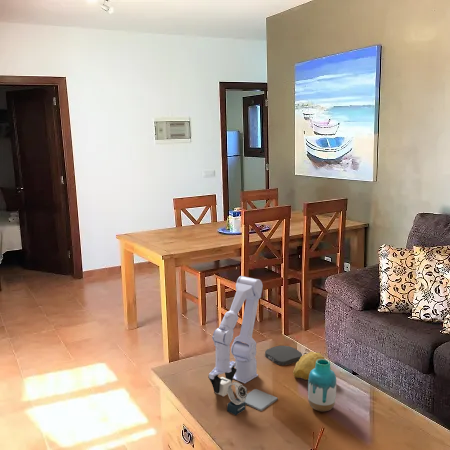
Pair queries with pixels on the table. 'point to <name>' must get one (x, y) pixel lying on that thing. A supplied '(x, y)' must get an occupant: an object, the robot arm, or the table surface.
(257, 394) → the mat
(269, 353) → the media streaming box
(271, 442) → the table surface
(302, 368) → the decorative stone
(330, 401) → the vase
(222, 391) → the letter cube
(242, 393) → the watch
